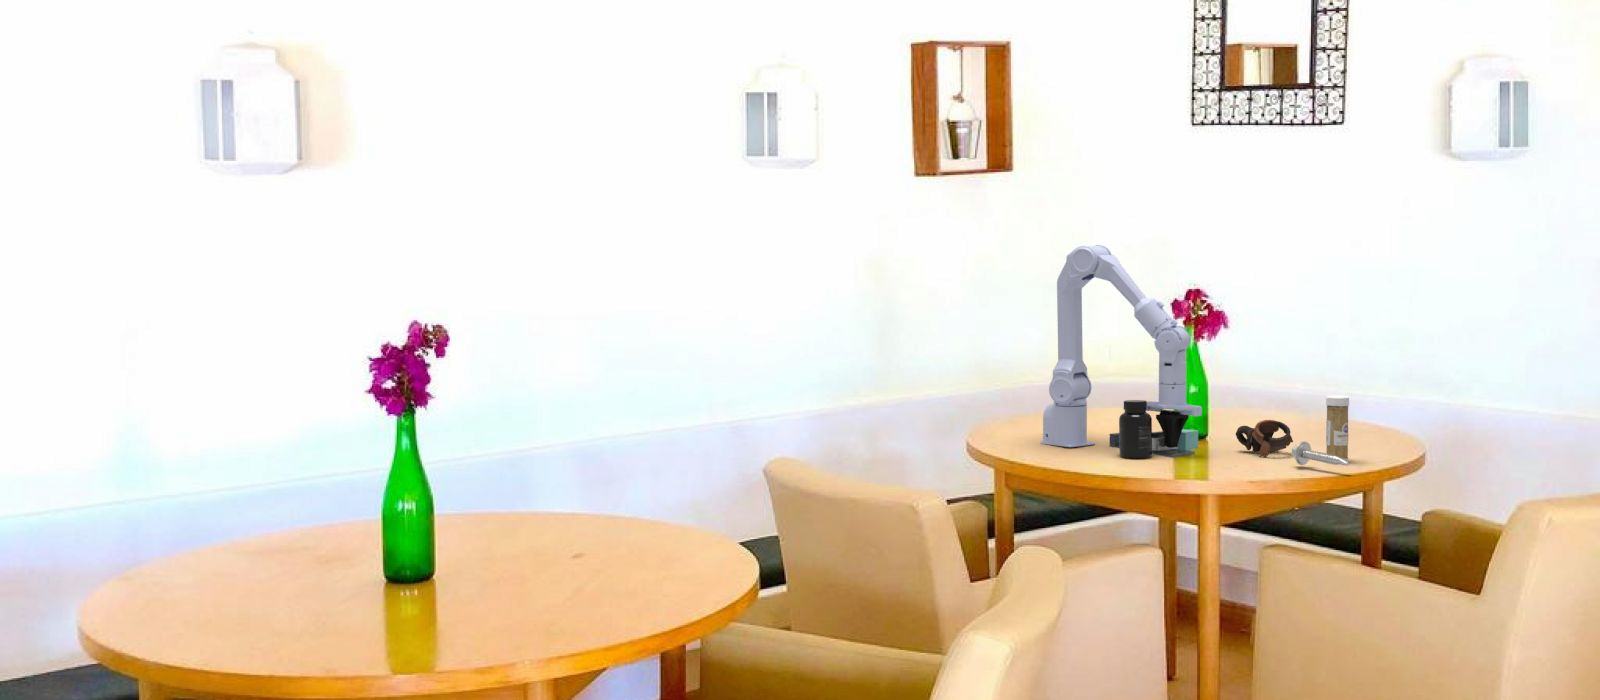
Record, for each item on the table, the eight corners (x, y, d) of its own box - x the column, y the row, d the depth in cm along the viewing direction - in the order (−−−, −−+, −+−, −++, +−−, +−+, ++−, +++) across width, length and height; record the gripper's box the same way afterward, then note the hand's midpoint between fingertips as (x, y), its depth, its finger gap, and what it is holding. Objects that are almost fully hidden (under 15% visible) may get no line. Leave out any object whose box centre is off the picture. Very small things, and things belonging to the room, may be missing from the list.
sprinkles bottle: (1344, 462, 379) (1345, 397, 378) (1322, 461, 381) (1323, 396, 380) (1351, 460, 382) (1352, 395, 381) (1329, 458, 385) (1330, 394, 384)
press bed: (1109, 449, 403) (1109, 433, 403) (1131, 447, 407) (1131, 431, 407) (1172, 457, 389) (1172, 441, 388) (1194, 455, 393) (1194, 438, 392)
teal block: (1169, 451, 399) (1169, 431, 399) (1182, 449, 403) (1182, 429, 403) (1185, 453, 397) (1185, 432, 396) (1198, 451, 400) (1198, 430, 400)
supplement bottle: (1150, 455, 393) (1150, 399, 392) (1153, 459, 386) (1153, 402, 386) (1117, 455, 394) (1118, 399, 393) (1120, 459, 387) (1120, 402, 386)
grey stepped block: (1140, 448, 396) (1140, 432, 396) (1159, 446, 400) (1159, 429, 400) (1158, 450, 392) (1158, 434, 392) (1177, 448, 396) (1177, 431, 396)
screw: (1286, 464, 376) (1288, 440, 375) (1301, 462, 379) (1303, 439, 378) (1340, 475, 365) (1342, 451, 365) (1355, 473, 368) (1357, 449, 368)
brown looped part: (1292, 452, 395) (1298, 422, 391) (1282, 478, 388) (1288, 447, 384) (1237, 438, 400) (1242, 407, 395) (1226, 463, 393) (1231, 432, 388)
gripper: (1133, 382, 396) (1133, 445, 396) (1185, 387, 384) (1185, 451, 385) (1156, 380, 400) (1156, 442, 401) (1208, 384, 388) (1208, 449, 389)
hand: (1172, 447), depth 393 cm, fingers closed
